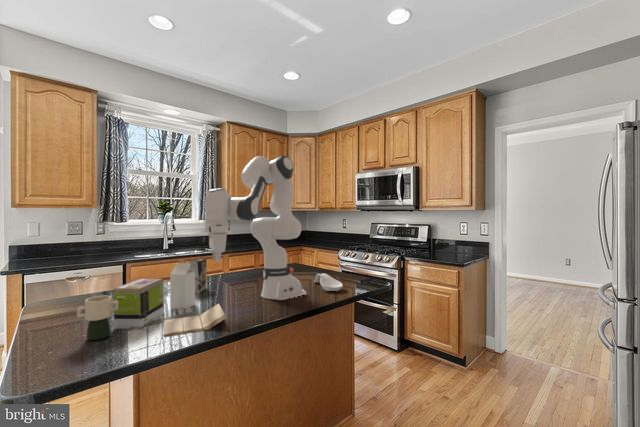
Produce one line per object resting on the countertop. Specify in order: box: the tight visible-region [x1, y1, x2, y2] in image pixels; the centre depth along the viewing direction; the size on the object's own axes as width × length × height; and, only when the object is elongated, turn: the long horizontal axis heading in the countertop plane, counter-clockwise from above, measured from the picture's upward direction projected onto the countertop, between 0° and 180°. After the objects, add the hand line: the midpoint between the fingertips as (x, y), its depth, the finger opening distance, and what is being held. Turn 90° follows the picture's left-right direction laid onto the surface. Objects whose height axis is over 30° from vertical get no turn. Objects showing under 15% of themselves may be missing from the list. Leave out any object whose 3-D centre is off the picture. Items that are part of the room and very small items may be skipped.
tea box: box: [113, 278, 165, 330], centre depth 113 cm, size 15×10×15 cm, turn 178°
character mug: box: [76, 295, 118, 341], centre depth 98 cm, size 11×7×13 cm, turn 135°
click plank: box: [199, 303, 227, 331], centre depth 111 cm, size 8×14×2 cm, turn 27°
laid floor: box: [163, 314, 203, 337], centre depth 107 cm, size 12×14×2 cm
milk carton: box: [169, 262, 196, 310], centre depth 130 cm, size 7×7×19 cm
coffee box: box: [187, 258, 207, 294], centre depth 158 cm, size 9×6×16 cm
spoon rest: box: [313, 273, 344, 292], centre depth 165 cm, size 24×12×7 cm, turn 27°
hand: (216, 261), depth 123 cm, fingers open, 6 cm apart
